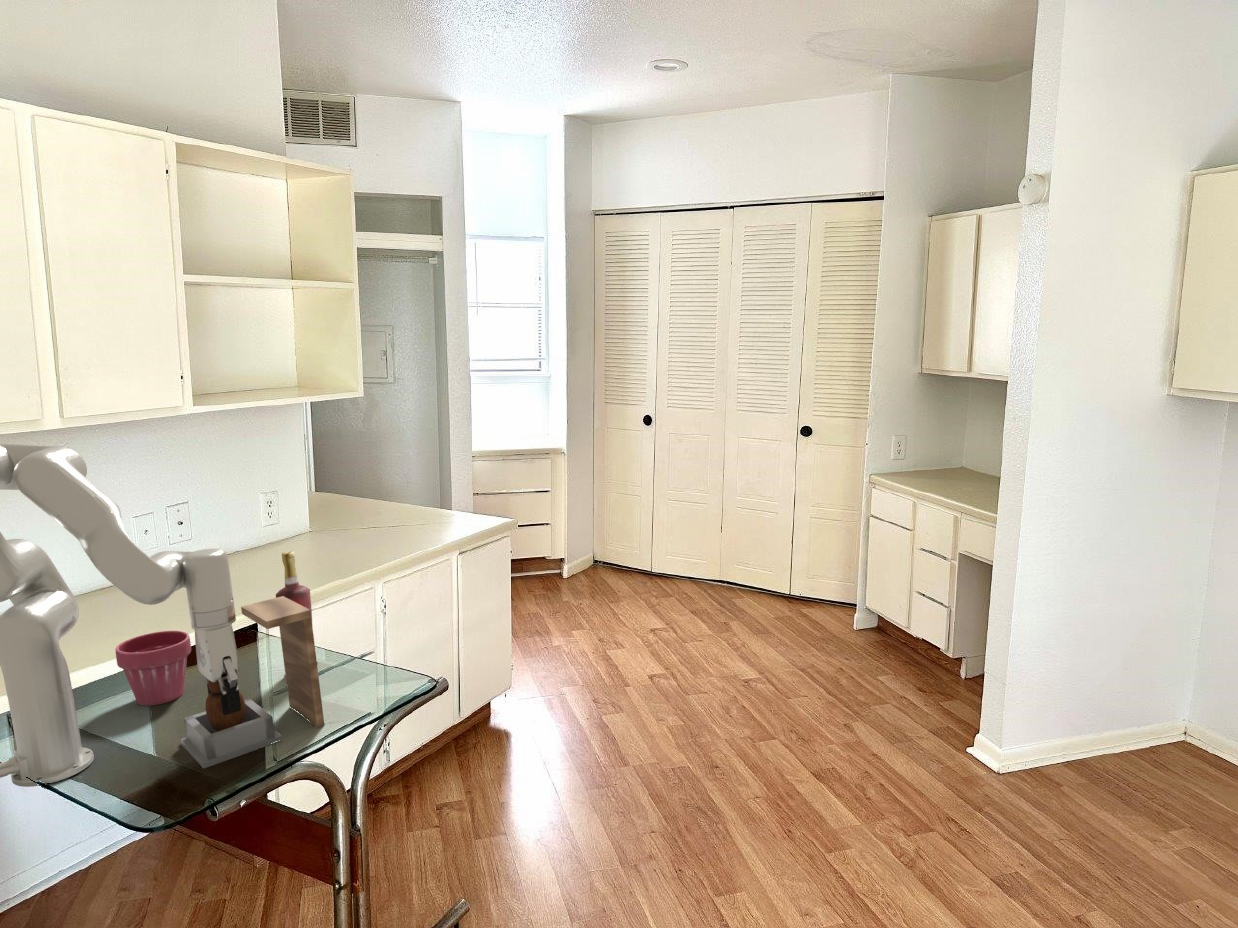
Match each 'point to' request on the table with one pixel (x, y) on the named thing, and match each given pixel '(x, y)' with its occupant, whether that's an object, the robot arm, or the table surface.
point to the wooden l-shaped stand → (294, 652)
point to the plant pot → (155, 665)
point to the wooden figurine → (215, 709)
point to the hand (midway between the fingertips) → (225, 705)
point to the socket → (228, 736)
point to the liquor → (294, 584)
